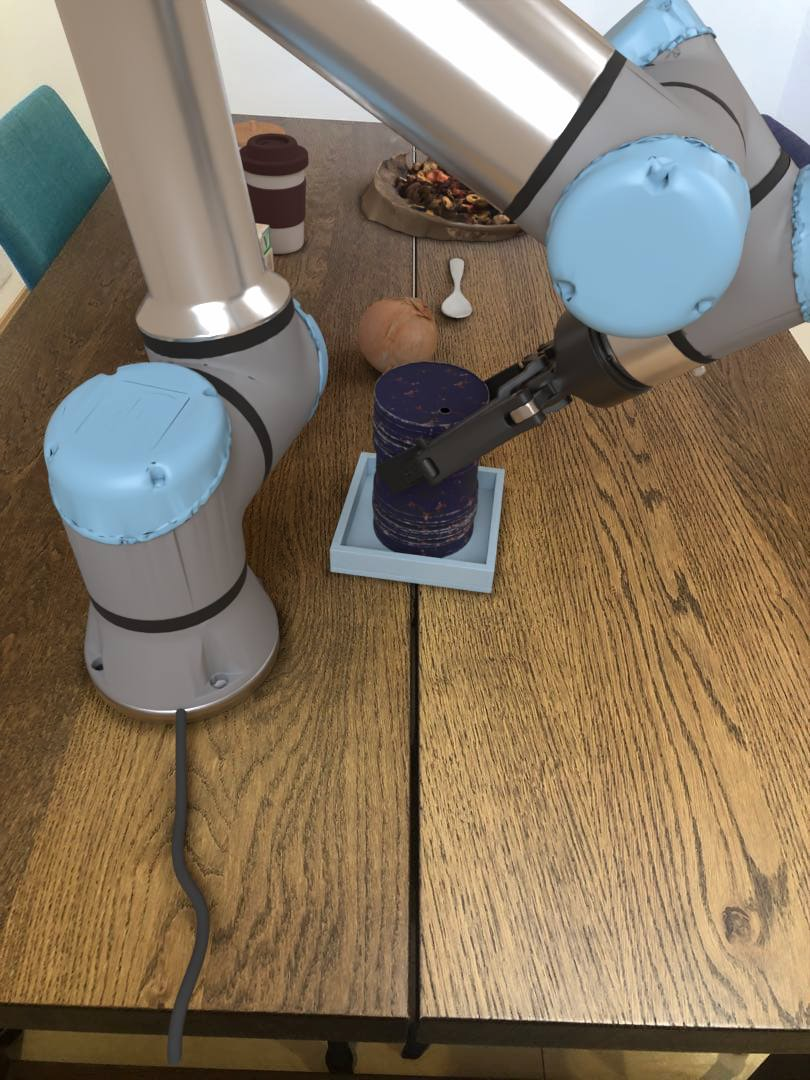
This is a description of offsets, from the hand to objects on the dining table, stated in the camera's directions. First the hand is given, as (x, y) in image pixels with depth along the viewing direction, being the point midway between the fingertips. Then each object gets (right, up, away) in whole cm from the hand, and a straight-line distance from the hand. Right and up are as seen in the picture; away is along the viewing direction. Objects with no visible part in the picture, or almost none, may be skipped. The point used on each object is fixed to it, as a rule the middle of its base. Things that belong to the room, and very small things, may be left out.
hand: (432, 439), depth 71 cm
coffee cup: (-21, +36, +53) cm, 68 cm away
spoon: (+5, +26, +44) cm, 51 cm away
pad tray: (-1, -8, +8) cm, 11 cm away
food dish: (+8, +48, +67) cm, 83 cm away
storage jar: (-1, -7, +7) cm, 10 cm away
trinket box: (-28, +55, +73) cm, 95 cm away
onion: (-3, +12, +29) cm, 31 cm away
